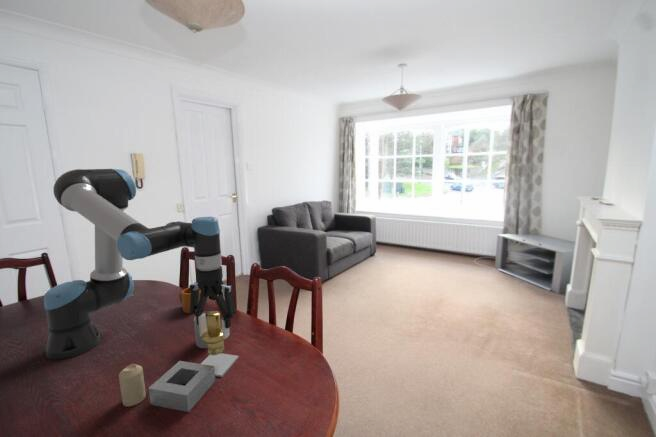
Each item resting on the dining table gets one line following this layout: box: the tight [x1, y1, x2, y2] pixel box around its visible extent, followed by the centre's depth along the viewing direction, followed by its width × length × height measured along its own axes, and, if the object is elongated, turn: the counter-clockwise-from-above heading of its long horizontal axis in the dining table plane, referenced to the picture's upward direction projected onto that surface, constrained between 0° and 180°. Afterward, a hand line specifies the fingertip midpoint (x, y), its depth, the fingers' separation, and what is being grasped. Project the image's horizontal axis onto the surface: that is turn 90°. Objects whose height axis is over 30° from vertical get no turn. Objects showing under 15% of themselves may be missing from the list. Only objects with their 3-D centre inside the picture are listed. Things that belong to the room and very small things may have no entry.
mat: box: [200, 352, 239, 378], centre depth 98 cm, size 10×10×1 cm
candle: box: [118, 362, 147, 408], centre depth 83 cm, size 6×6×10 cm
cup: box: [193, 310, 213, 349], centre depth 111 cm, size 8×8×10 cm
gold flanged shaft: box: [202, 310, 225, 356], centre depth 97 cm, size 8×8×13 cm
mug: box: [178, 287, 201, 314], centre depth 139 cm, size 9×12×9 cm
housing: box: [148, 360, 216, 413], centre depth 86 cm, size 12×12×5 cm
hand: (214, 335), depth 97 cm, fingers closed on gold flanged shaft, 8 cm apart
